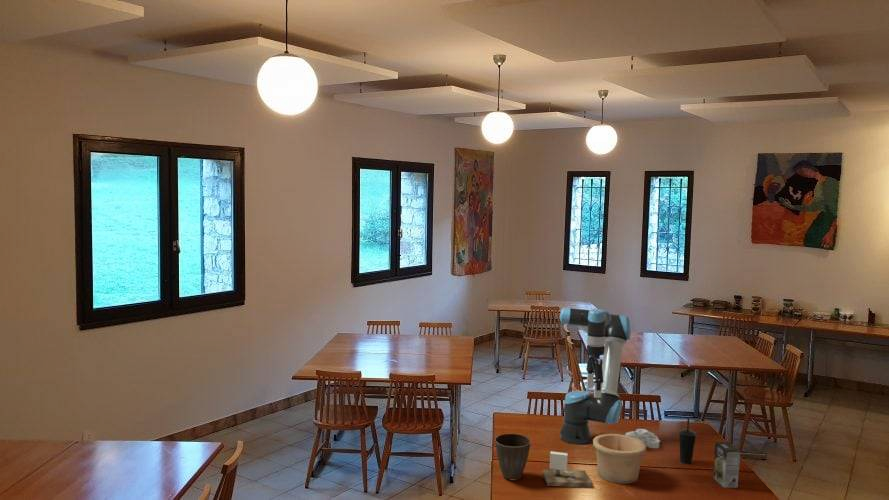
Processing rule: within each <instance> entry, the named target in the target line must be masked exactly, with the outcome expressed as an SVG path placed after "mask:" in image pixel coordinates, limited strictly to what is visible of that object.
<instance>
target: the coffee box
mask: <svg viewBox="0 0 889 500" xmlns="http://www.w3.org/2000/svg"><path fill="white" fill-rule="evenodd" d="M714 448H715V449H714V464H713V480H715V481H716V482H717V483H718V484H719V485H720V486H721V487H722V488H723V489H724V488H725V489H727V488H729V489H731V488H738V486H739V473H740V459H741V458H740V457H741V450H740V448H737V447H736V446H735V445H734V444H733V443H731V442H724V441H715V446H714Z"/></svg>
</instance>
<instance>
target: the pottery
mask: <svg viewBox="0 0 889 500" xmlns="http://www.w3.org/2000/svg"><path fill="white" fill-rule="evenodd" d="M592 446H593V447H594V448H595V452H596V464H597V475H599V477H600V478H601V479H603V480H605V481H606V482H610V483H614V484H618V485H619V484H621V485H622V484H623V485H626V484H628V485H629V484H633V483H635V482H637V481H638V479H639V475H640V469H641V467H642V466H641V464H642V460H643V456H644V454H645V453H646V451H647V446H646V445H645V444H644V443H643V442H642V441H641V440H639V439H636V438H634V437H630V436H627V435H625V434H620V433H619V434H618V433H604V434H599V435H596V436H595V437H594V438H593V439H592Z"/></svg>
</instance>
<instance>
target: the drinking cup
mask: <svg viewBox="0 0 889 500" xmlns="http://www.w3.org/2000/svg"><path fill="white" fill-rule="evenodd" d="M686 423H687V424H686V428H685V429H680V430H678V436H679V440H678V442H679V460H680V461H679V462H680V463H682V464H684V465H691V464H692V462H693V455H694V449H695V445H696V444H695V443H696V437H697V432H695V431H693V430H691V429H689V427H690V418H687V422H686Z"/></svg>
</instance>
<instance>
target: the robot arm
mask: <svg viewBox="0 0 889 500" xmlns="http://www.w3.org/2000/svg"><path fill="white" fill-rule="evenodd" d="M559 320H560V323H561V324H563V325H569V326H575V327H577V328H579V330H581V331H582V332H584V333H587V334H586V335H587V336H586V343H587V345H586V354H588V357H587V359H588V360H587V363H586V369H585V370H586V373H587V377H586V389H594V392H593V394H594V395H593V396H592V395H591V393H590V392H589V391H586V390H573V391H569V392H567V393H566V395H565V398H564V401H563V402H564V413H563V415H564V417H563V424H562V427H561V429H560V432H559V438H560V437H561V439H563V440H564V441H563V440H562V441H563V442H565V441H567V442H566V443H568V442H570V443H569V444H572V443H574V445H585V444H589V443H591V441H592V434H591V433H592V432H591V430H590V426H589V421H590V422H596V423H597V422H598V423H602V424H603V423H604V424H607V425H608V424H609V425H615V424H617V423H618V422H619V419H620V416H621V414H622V413H621V412H622V409H623V408H622V407H623V401H622V400H620V395H619V394H618V387H619V377H620V370H621V362H622V354H623V346H625V345H626V344H627V342H628V340H631V335H632V334H631V321H630V318H629V317H628V316H627V315H621V314H612V313H611V314H610V311H609V312H608V310H605V309H599V308H591V309H582V308H570V307H562V308H561V310H560V314H559ZM600 356H602V358H601V357H600ZM561 439H560V440H561Z"/></svg>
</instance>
